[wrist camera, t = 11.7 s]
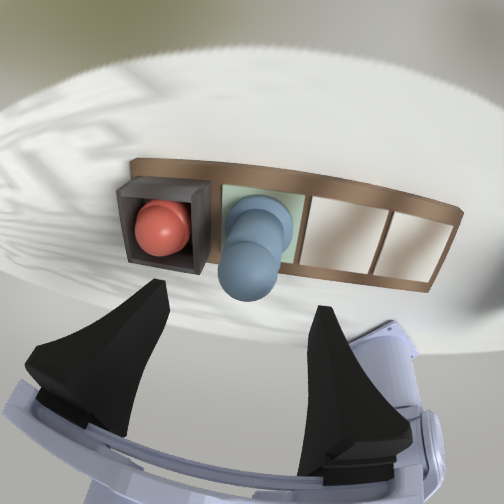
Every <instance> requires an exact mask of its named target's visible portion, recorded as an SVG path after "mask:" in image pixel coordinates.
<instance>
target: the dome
mask: <svg viewBox="0 0 504 504" xmlns="http://www.w3.org/2000/svg"><path fill="white" fill-rule="evenodd" d="M191 235H192V218H191V203H189V202H180V201H169V200H159V199H151V200H150V201H149V202H148V203H147V204H146V205H145V206H143V207H142V208H141V209H140V211H139V213H138V215H137V219H136V224H135V237H136V240H137V242H138V244H139V246H140V247H141V248H142V249H143V250H144V251H145V252H147V253H148V254H150V255H153V256H167V255H170V254H172V253H176V252H178V251H180V250H181V249H182V248H183V247H184V246H185V245H186V243H187V242H188V240H189V239H190V237H191Z"/></svg>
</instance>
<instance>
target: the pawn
mask: <svg viewBox="0 0 504 504" xmlns="http://www.w3.org/2000/svg"><path fill="white" fill-rule="evenodd" d="M225 235H226V238H227V241H226V243H225V245H224V248H223V250H222V254H221V259H220V262H219V265H218V278H219V282H220V284H221V286H222V288H223V289H224V291H225V292H226V293H227V294H228V295H230V296H231V297H232V298H234V299H236V300H239V301H244V302H251V301H256V300H259V299H261V298H263V297H265V296H266V295H267V294H268V293H269V292H270V291H271V290H272V288H273V287H274V285H275V283H276V280H277V273H278V271H279V269H280V264H281V255H282V253H283V252H284V251H285V250H286V249H287V248H288V247H289V245H290V243H291V240H292V236H293V220H292V216H291V214H290V212H289V210H288V209H287V208H286V206H285V205H284V204H283V203H282V202H280V201H279V200H277V199H275V198H273V197H271V196H267V195H261V194H256V195H250V196H246V197H244V198H242V199H240V200H239V201H238V202H236V203H235V204H234V206H233V207H232V209H231V210H230V212H229V214H228V216H227V218H226V221H225Z"/></svg>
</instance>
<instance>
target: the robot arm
mask: <svg viewBox="0 0 504 504" xmlns="http://www.w3.org/2000/svg"><path fill="white" fill-rule="evenodd" d="M169 313H170V307H169V301H168V295H167V289H166V282H165V281H164V280H159V279H153V280H151V281H150V282H149V283H148V284H146V285H145V286H144V287H143V288H141V289H140V290H139V291H138V292H136V293H135V294H134V295H133V296H131V297H130V298H129V299H127V300H126V301H125V302H124V303H122V304H121V305H120V306H118V307H117V308H115V309H114V310H113V311H111V312H110V313H108V314H107V315H105V316H104V317H102V318H101V319H99V320H97V321H96V322H94V323H92V324H91V325H89V326H87V327H85V328H83V329H81V330H79V331H77V332H75V333H73V334H71V335H68V336H66V337H63V338H61V339H58V340H56V341H52V342H49V343H46V344H42V345H39V346H36V348H35V349H34V351H33V352H32V354H31V355H30V357H29V358H28V360H27V361H26V363H25V368H26V370H27V371H28V373H29V374H30V375H31V376H32V377H33V379H34V380H35V381H36V382H37V383H38V384H39V385H40V386H41V389H40V390H39V391H38V390H37V389H36V388H34V387H33V386H32V385H30V384H29V383H27V382H26V381H24V380H23V379H20V381H19V382H18V384H17V386H16V387H15V389H14V391H13V393H12V394H11V396H10V398H9V400H8V402H7V403H6V405H5V407H4V409H3V411H2V415H3V416H5V417H6V418H7V419H8V420H9V421H10V422H11V423H13V424H14V425H15V426H16V427H17V428H19V429H20V430H21V431H22V432H23V433H25V434H26V435H27V436H28V437H30V438H31V439H32V440H33V441H35V442H36V443H38V444H39V445H40V446H41V447H43V448H44V449H45V450H47V451H48V452H50V453H51V454H52V455H54V456H55V457H57V458H59V459H60V460H61V461H63V462H64V463H66V464H68V465H69V466H71V467H72V468H74V469H76V470H77V471H79V472H81V473H82V474H84V475H86V476H88V477H89V478H91V479H92V482H91V484H90V487H89V490H88V492H87V495H86V498H85V501H84V504H424V502H425V501H426V500H427V499H428V498H429V497H430V496H431V495H432V494H433V493H435V492H436V491H437V489H438V488H439V487H440V486H441V484H442V482H443V479H444V477H445V472H446V469H445V450H444V442H443V436H442V431H441V427H440V423H439V420H438V417H437V415H436V413H434V412H431V411H430V410H426V411H423V410H422V404H421V399H420V394H419V389H418V384H417V380H416V376H415V371H414V367H413V363H412V359H413V358H414V357H417V356H418V355H419V353H418V350H417V349H416V347H415V346H414V345H413V343H412V342H411V340H410V339H409V338H408V336H407V335H406V333H405V332H404V331H403V329H402V328H401V326H400V325H399V324H398V322H397V321H391V322H390V323H388V324H386V325H384V326H382V327H380V328H379V329H377V330H375V331H373V332H371V333H369V334H367V335H365V336H363V337H361V338H359V339H357V340H355V341H353V342H351V343H349V344H348V342H347V340H346V338H345V336H344V334H343V332H342V329H341V327H340V325H339V323H338V320H337V318H336V316H335V313H334V311H333V309H332V307H329V306H321V305H318V308H317V311H316V314H315V317H314V320H313V323H312V326H311V329H310V332H309V337H308V350H307V362H308V395H309V396H308V410H307V419H306V427H305V435H304V441H303V447H302V453H301V458H300V464H299V468H298V473H297V476H284V475H272V474H262V473H254V472H247V471H240V470H234V469H228V468H223V467H218V466H213V465H208V464H204V463H200V462H195V461H192V460H187V459H184V458H180V457H177V456H173V455H170V454H166V453H163V452H160V451H157V450H154V449H151V448H148V447H145V446H143V445H140V444H137V443H135V442H132V441H129V440H127V439H124V438H123V437H126V436H127V430H128V425H129V419H130V415H131V411H132V407H133V402H134V399H135V396H136V392H137V389H138V385H139V383H140V380H141V377H142V374H143V371H144V369H145V366H146V364H147V362H148V359H149V358H150V356H151V353H152V352H153V350H154V348H155V345H156V344H157V342H158V340H159V338H160V336H161V334H162V332H163V329H164V327H165V324H166V322H167V319H168V316H169ZM389 327H390V328H389ZM111 448H112V449H114V450H116V451H119V452H121V453H123V454H126V455H128V456H131V457H133V458H136V459H138V460H141V461H144V462H146V463H149V464H152V465H155V466H158V467H161V468H164V469H167V470H171V471H174V472H178V473H181V474H185V475H189V476H192V477H196V478H200V479H205V480H209V481H214V482H219V483H224V484H230V485H236V486H243V487H249V488H257V489H267V490H279V491H256V492H255V494H254V495H253V496H252V498H246V497H240V496H234V495H229V494H224V493H219V492H215V491H210V490H206V489H202V488H198V487H194V486H190V485H186V484H183V483H179V482H176V481H172V480H169V479H166V478H162V477H159V476H156V475H153V474H150V473H147V472H144V469H143V467H141V466H139V465H137V464H135V463H134V462H132V461H131V460H130V459H129V458H127V457H125V456H123V455H121V454H119V453H117V452H115V451H113V450H111ZM286 491H292V492H286Z"/></svg>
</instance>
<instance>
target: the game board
mask: <svg viewBox="0 0 504 504" xmlns="http://www.w3.org/2000/svg"><path fill="white" fill-rule="evenodd" d="M130 168H131V179H132V180H131V181H129V182H128V183H126V184H125V185H123V186H122V187H120V188H119V189H118V190H116V194H117V201H118V208H119V215H120V221H121V227H122V232H123V238H124V243H125V248H126V253H127V258H128V262H130V263H135V264H140V265H146V266H151V267H156V268H162V269H167V270H173V271H179V272H184V273H190V274H196V275H200V274H201V271H202V269H203V267H204V265H205V263H206V262H208V263H214V264H219V262H220V259H221V254H222V250H223V248H224V245H225V243H226V241H227V238H226V235H225V221H226V218H227V216H228V214H229V212H230V210H231V209H232V207H233V206H234V204H235V203H236V202H238V201H239V200H240V199H242V198H244V197H246V196H250V195H256V194H261V195H267V196H271V197H273V198H275V199H277V200H279V201H280V202H282V203H283V204H284V205H285V206H286V208H287V209H288V210H289V212H290V214H291V216H292V220H293V236H292V240H291V243H290V245H289V247H288V248H287V249H286V250H285V251H284V252H283V253H282V255H281V264H280V269H279V271H278V273H280V274H287V275H294V276H301V277H308V278H316V279H323V280H330V281H338V282H345V283H353V284H360V285H368V286H376V287H384V288H392V289H400V290H408V291H416V292H425V293H428V292H429V290H430V288H431V286H432V284H433V282H434V280H435V279H436V277H437V275H438V273H439V270H440V268H441V266H442V264H443V262H444V260H445V258H446V256H447V253H448V251H449V249H450V247H451V244H452V242H453V240H454V237H455V235H456V233H457V230H458V228H459V225H460V222H461V220H462V217H463V214H464V212H463V211H462V210H461V209H460V208H459V207H456V206H453V205H450V204H446V203H443V202H440V201H436V200H432V199H429V198H425V197H422V196H418V195H414V194H410V193H406V192H402V191H398V190H394V189H390V188H385V187H381V186H376V185H372V184H367V183H362V182H357V181H352V180H347V179H342V178H337V177H331V176H325V175H320V174H314V173H307V172H301V171H294V170H287V169H280V168H272V167H264V166H256V165H246V164H237V163H226V162H214V161H200V160H183V159H159V158H136V159H134V160H132V161H130ZM151 199H159V200H169V201H180V202H189V203H191V218H192V235H191V237H190V239H189V240H188V242H187V243H186V245H185V246H184V247H183V248H182V249H181V250H180V251H178V252H176V253H172V254H170V255H167V256H153V255H150V254H148V253H147V252H145V251H144V250H143V249H142V248H141V247H140V246H139V244H138V242H137V240H136V237H135V224H136V219H137V215H138V213H139V211H140V209H141V208H142V207H143V206H145V205H146V204H147V203H148V202H149V201H150V200H151Z"/></svg>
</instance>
